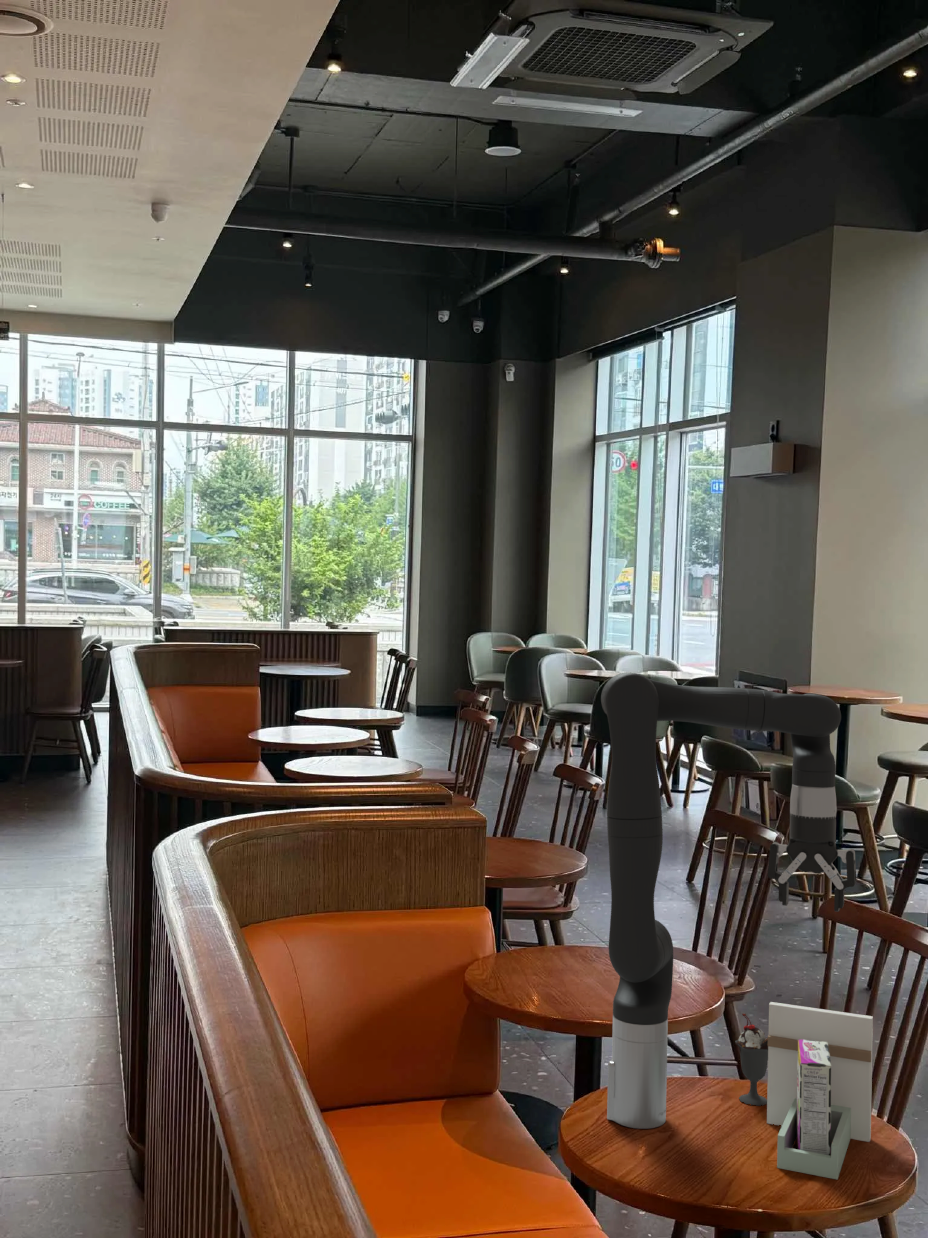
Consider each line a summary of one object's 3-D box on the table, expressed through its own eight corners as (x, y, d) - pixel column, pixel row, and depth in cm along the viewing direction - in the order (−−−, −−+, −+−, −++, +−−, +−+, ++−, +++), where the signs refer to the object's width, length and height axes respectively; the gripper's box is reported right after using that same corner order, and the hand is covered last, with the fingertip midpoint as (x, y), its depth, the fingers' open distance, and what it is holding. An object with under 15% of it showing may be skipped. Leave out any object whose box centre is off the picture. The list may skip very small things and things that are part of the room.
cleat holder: (747, 1162, 190) (750, 1033, 190) (768, 1120, 206) (770, 1002, 206) (858, 1184, 183) (860, 1050, 183) (870, 1139, 200) (872, 1016, 200)
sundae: (728, 1093, 218) (730, 1009, 218) (765, 1093, 218) (767, 1009, 218) (739, 1108, 211) (741, 1021, 211) (777, 1108, 212) (779, 1021, 212)
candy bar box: (795, 1138, 199) (797, 1038, 199) (827, 1142, 198) (828, 1041, 198) (797, 1168, 188) (799, 1061, 188) (831, 1172, 187) (833, 1065, 187)
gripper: (766, 811, 206) (764, 907, 206) (854, 818, 200) (852, 917, 200) (774, 805, 213) (772, 899, 213) (859, 812, 207) (857, 908, 207)
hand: (811, 907), depth 206 cm, fingers open, 8 cm apart
